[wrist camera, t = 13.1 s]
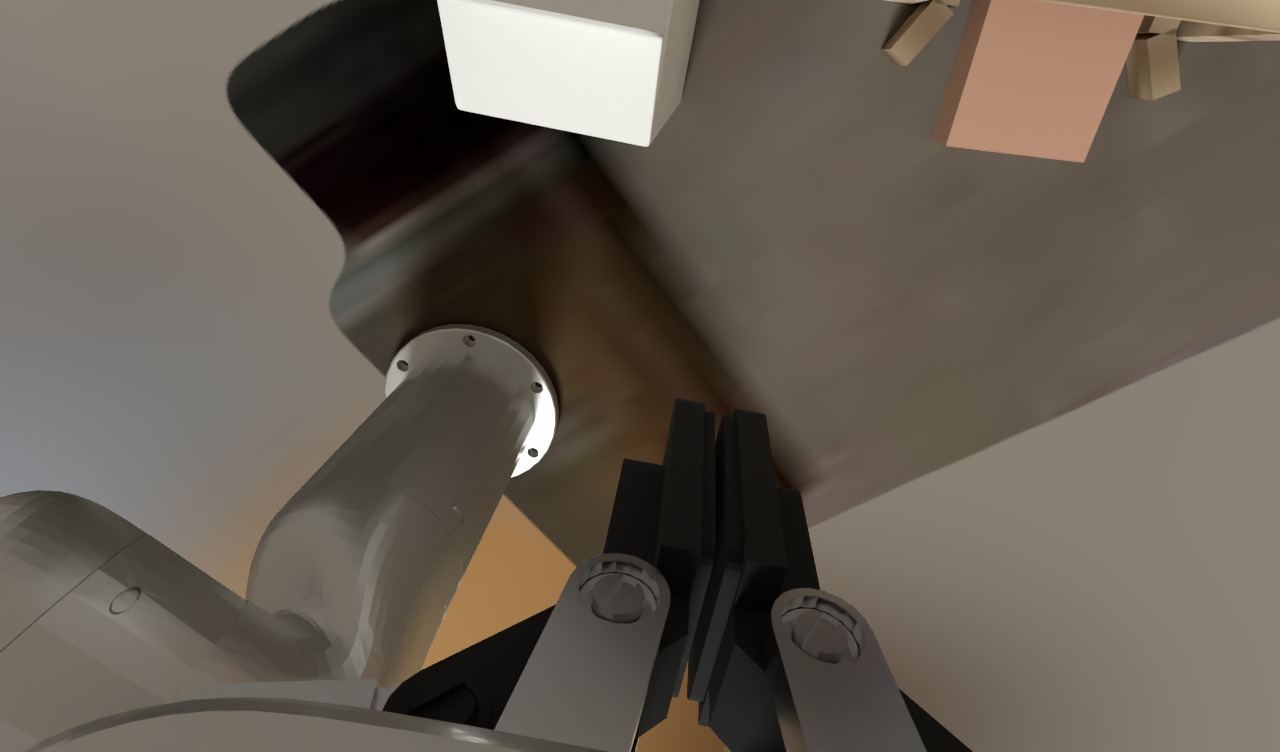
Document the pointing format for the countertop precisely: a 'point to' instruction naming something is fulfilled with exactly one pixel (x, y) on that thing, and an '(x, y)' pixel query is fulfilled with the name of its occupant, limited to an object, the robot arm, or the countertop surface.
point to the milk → (571, 62)
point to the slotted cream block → (1173, 10)
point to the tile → (1034, 77)
